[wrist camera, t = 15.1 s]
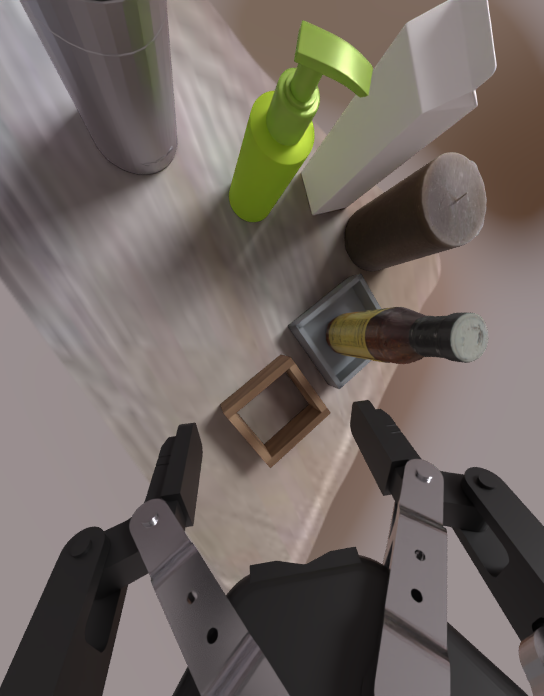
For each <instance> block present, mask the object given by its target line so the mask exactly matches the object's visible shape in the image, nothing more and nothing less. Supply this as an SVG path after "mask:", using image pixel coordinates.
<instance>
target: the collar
mask: <svg viewBox="0 0 544 696" xmlns="http://www.w3.org/2000/svg"><path fill="white" fill-rule="evenodd" d="M284 372H286V373H287V375H288V376H289V377H290V379H291V380H292V382H293V383H294V384H295V386H296V387H297V388H298V390H299V391H300V392H301V394H302V395H303V396H304V398H305V399H306V400H307V402H308V403H309V405H308V406H307V407H306V408H305V409H303V410H302V411H301V412H300V413H299V414H298V415H297V416H296V417H294V418H293V419H292V420H291V421H290V422H289V423H288V424H287V425H285V426H284V427H283V428H282V429H281V430H280V431H279V432H278V433H276V434H275V435H274V436H273V437H272V438H271V439H270V440H269V441H267V442H266V443H265V444H263V443H262V442H261V441H260V439H259V438H258V437H257V436H256V435H255V433H254V432H253V431H252V430H251V429H250V427H249V426H248V425H247V424H246V423H245V421H244V420H243V419H242V418H241V417H240V416H239V414H238V413H237V412H238V411H239V410H240V409H241V408H243V407H244V406H245V405H246V404H247V403H249V402H250V401H251V400H252V399H253V398H255V397H256V396H257V395H258V394H259V393H261V392H262V391H263V390H264V389H265V388H266V387H268V386H269V385H270V384H271V383H272V382H274V381H275V380H276V379H277V378H278V377H280V376H281V375H282V374H283V373H284ZM220 405H221V408H222V411H223V413H224V415H225V416H226V417H227V418H228V419H229V420H230V422H231V423H232V424H233V425H234V426H235V427H236V429H237V430H238V431H239V432H240V433H241V434H242V436H243V437H244V438H245V439H246V440H247V441H248V443H249V444H250V445H251V446H252V447H253V448H254V450H255V451H256V452H257V453H258V454H259V455H260V457H261V458H262V459H263V460H264V461H265V462H266V464H267V465H268V466H269V467H270V468H271V467H272V466H273V465H275V464H276V463H277V462H278V461H279V460H280V459H281V458H282V457H283V456H284V455H285V454H287V453H288V452H289V451H290V450H291V449H292V448H293V447H294V446H295V445H296V444H297V443H299V442H300V441H301V440H302V439H303V438H304V437H305V436H306V435H307V434H308V433H309V432H311V431H312V430H313V429H314V428H315V427H316V426H317V425H318V424H319V423H320V422H321V421H323V420H324V419H325V418H326V417H327V416H328V415H329V414H330V411H329V410H328V408H327V407H326V406H325V404H324V403H323V401H322V400H321V399H320V397H319V396H318V395H317V393H316V392H315V390H314V389H313V388H312V386H311V385H310V383H309V382H308V381H307V379H306V378H305V376H304V375H303V374H302V372H301V371H300V369H299V368H298V367H297V365H296V364H295V363H294V361H293V360H292V358H291V357H288V356H284V355H280V356H278V357H277V358H276V359H275V360H274V361H272V362H271V363H270V364H269V365H267V366H266V367H265V368H264V369H263V370H261V371H260V372H259V373H258V374H256V375H255V376H254V377H253V378H252V379H250V380H249V381H248V382H247V383H246V384H244V385H243V386H242V387H241V388H239V389H238V390H237V391H236V392H235V393H233V394H232V395H231V396H230V397H228V398H227V399H226V400H225V401H224V402H222V403H221V404H220Z"/></svg>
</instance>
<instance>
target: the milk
mask: <svg viewBox="0 0 544 696" xmlns="http://www.w3.org/2000/svg"><path fill="white" fill-rule="evenodd" d="M495 70H496V58H495V51H494V44H493V36H492V28H491V21H490V14H489V6H488V0H448V1H446V2H444V3H442V4H440V5H438V6H437V7H435V8H433V9H431V10H429V11H427V12H426V13H424V14H422V15H420V16H418V17H416V18H415V19H413V20H411V21H409V22H407V23H406V24H405V25H404V27H403V28H402V30H401V31H400V33H399V34H398V35H397V37H396V38H395V40H394V41H393V43H392V44H391V46H390V47H389V48H388V50H387V51H386V52H385V54H384V56H383V57H382V58H381V60H380V61H379V63H378V64H377V65H376V67H375V68H374V70H373V72H372V78H371V84H370V90H369V95H368V96H366V97H361V98H360V97H358V96H357V95H355V97H354V98H353V99H352V101H351V102H350V104H349V105H348V107H347V108H346V110H345V111H344V112H343V114H342V115H341V116H340V118H339V119H338V121H337V122H336V124H335V125H334V126H333V128H332V129H331V131H330V132H329V134H328V135H327V136H326V138H325V139H324V141H323V142H322V143H321V145H320V146H319V148H318V149H317V151H316V152H315V153H314V155H313V156H312V158H311V159H310V161H309V162H308V163H307V165H306V166H305V168H304V169H303V170H302V172H301V174H302V178H303V182H304V185H305V189H306V193H307V197H308V201H309V204H310V208H311V212H312V215H317V214H321V213H325V212H330V211H334V210H338V209H342V208H346V207H348V206H349V205H350V204H352V203H353V202H354V201H356V200H357V199H358V198H359V197H361V196H362V195H363V194H365V193H366V192H367V191H369V190H370V189H371V188H372V187H374V186H375V185H376V184H378V183H379V182H380V181H381V180H383V179H384V178H385V177H387V176H388V175H389V174H390V173H392V172H393V171H394V170H395V169H397V168H398V167H399V166H401V165H402V164H403V163H405V162H406V161H407V160H408V159H410V158H411V157H412V156H414V155H415V154H416V153H417V152H419V151H420V150H421V149H423V148H424V147H425V146H426V145H428V144H429V143H430V142H432V141H433V140H434V139H436V138H437V137H438V136H439V135H441V134H442V133H443V132H445V131H446V130H447V129H449V128H450V127H451V126H452V125H454V124H455V123H456V122H458V121H459V120H460V119H461V118H463V117H464V116H465V115H467V114H468V113H469V112H470V111H471V110H473V109H474V108H476V107H477V105H478V104H477V97H476V89H477V88H478V87H479V86H480V85H482V84H483V83H484V82H485V81H486V80H488V78H490V77H491V76H492V75H493V73H494V72H495Z"/></svg>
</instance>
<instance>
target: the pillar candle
mask: <svg viewBox="0 0 544 696" xmlns="http://www.w3.org/2000/svg"><path fill="white" fill-rule="evenodd" d="M484 189H485V187H484V183H483V180H482V178H481V175H480V174H479V171H478V169H477V166H476V164H475V163H474V162H473V161H470V160H469V159H468V158H466V157H465V156H463V155H461V154H458V153H445V154H442V155H440V156H439V157H437V158H436V159H434V160H433V161H431V162H430V163H428V164H426V165H425V166H424V167H422V168H420V169H419V170H417V171H416V172H414V173H413V174H412V175H410V176H408V177H407V178H406V179H404V180H402V181H401V182H399V183H398V184H396V185H395V186H393V187H392V188H390V189H389V190H388V191H386V192H384V193H383V194H381V195H380V196H378V197H377V198H375V199H374V200H372V201H371V202H369V203H368V204H366V205H365V206H363V207H362V208H360V209H359V210H357V211H356V212H355V213H354V214H353V216H352V217H351V218H350V220H349V221H348V223H347V226H346V230H345V246H346V250H347V252H348V254H349V256H350V258H351V260H352V261H353V262H354V263H355V264H356V265H357V266H358V267H360V268H361V269H364V270H366V271H377V270H381V269H384V268H388V267H391V266H394V265H398V264H401V263H405V262H408V261H411V260H415V259H418V258H422V257H425V256H429V255H432V254H435V253H439V252H442V251H446V250H449V249H452V248H456V247H459V246H462V245H465V244H467V243H468V242H470V241H471V240H472V239H473V238H474V237H475V236H477V235H478V234H479V231H480V230H481V229H482V226H483V222H484V215H485V212H486V201H487V200H486V199H487V198H486V193H485V190H484Z"/></svg>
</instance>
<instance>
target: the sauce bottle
mask: <svg viewBox="0 0 544 696" xmlns="http://www.w3.org/2000/svg"><path fill="white" fill-rule="evenodd" d="M326 341H327V343H328V345H329V346H330V347H331V349H332V350H333V351H335V352H336V353H339V354H342V355H345V356H350V357H356V358H362V359H368V360H373V361H379V362H386V363H390V362H392V363H396V364H408V363H411V362H415V361H417V360H420V359H422V358H423V357H440V358H446V359H448V360H451V361H457V362H465V363H467V362H472V361H474V360H476V359H478V358H479V357H480V356H481V355H482V354H483V352H484V351H485V349H486V346H487V342H488V331H487V327H486V325H485V322H484V320H483V319H482V318H481V317H480V316H478V315H477V314H475V313H453V314H450V315H448V316H436V317H434V316H425V315H423V314H420V313H418V312H415V311H412V310H410V309H407V308H404V307H393V308H385V309H377V310H367V311H361V312H352V313H345V314H342V315H339V316H337V317H336V318H334V319H333V320H332V321H331V322H330V323H329V324H328V327H327V331H326Z"/></svg>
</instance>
